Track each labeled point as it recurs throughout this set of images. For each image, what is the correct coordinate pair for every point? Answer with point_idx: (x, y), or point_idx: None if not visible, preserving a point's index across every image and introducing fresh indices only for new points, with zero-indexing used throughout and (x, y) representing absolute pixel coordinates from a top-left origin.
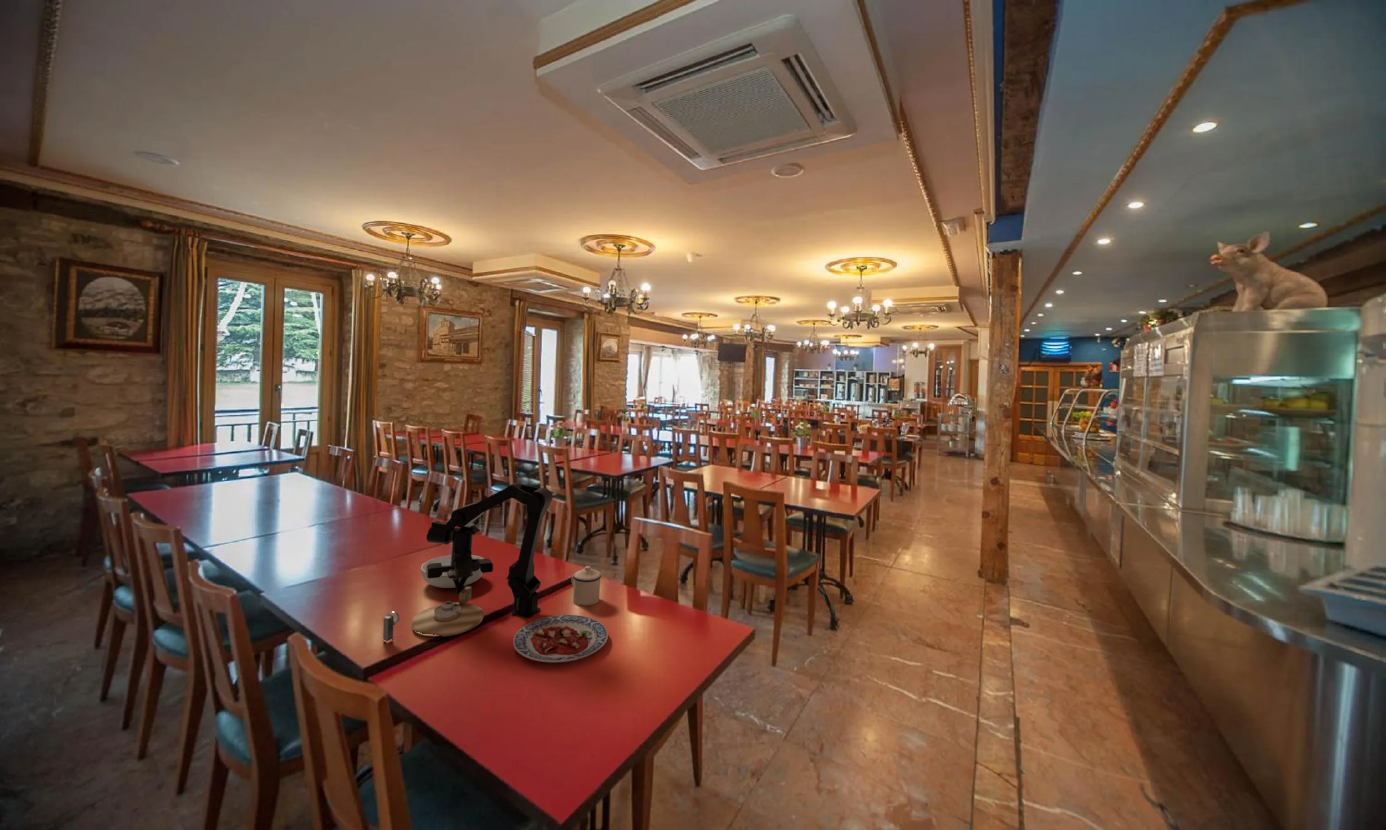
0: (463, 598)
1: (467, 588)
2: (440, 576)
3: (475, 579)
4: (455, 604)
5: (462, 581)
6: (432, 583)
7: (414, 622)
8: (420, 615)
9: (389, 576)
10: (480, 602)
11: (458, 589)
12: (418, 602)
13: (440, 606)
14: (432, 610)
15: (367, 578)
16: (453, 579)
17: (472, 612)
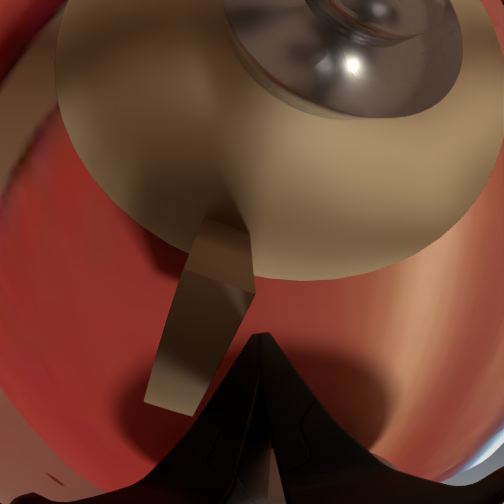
0: (201, 242)
1: (172, 384)
2: None
3: None
4: (286, 58)
5: (216, 459)
6: (377, 456)
7: (496, 55)
8: (487, 134)
9: (422, 465)
10: (118, 307)
11: (267, 368)
12: (432, 356)
13: (432, 73)
14: (437, 184)
15: (456, 450)
16: (405, 481)
17: (125, 54)
